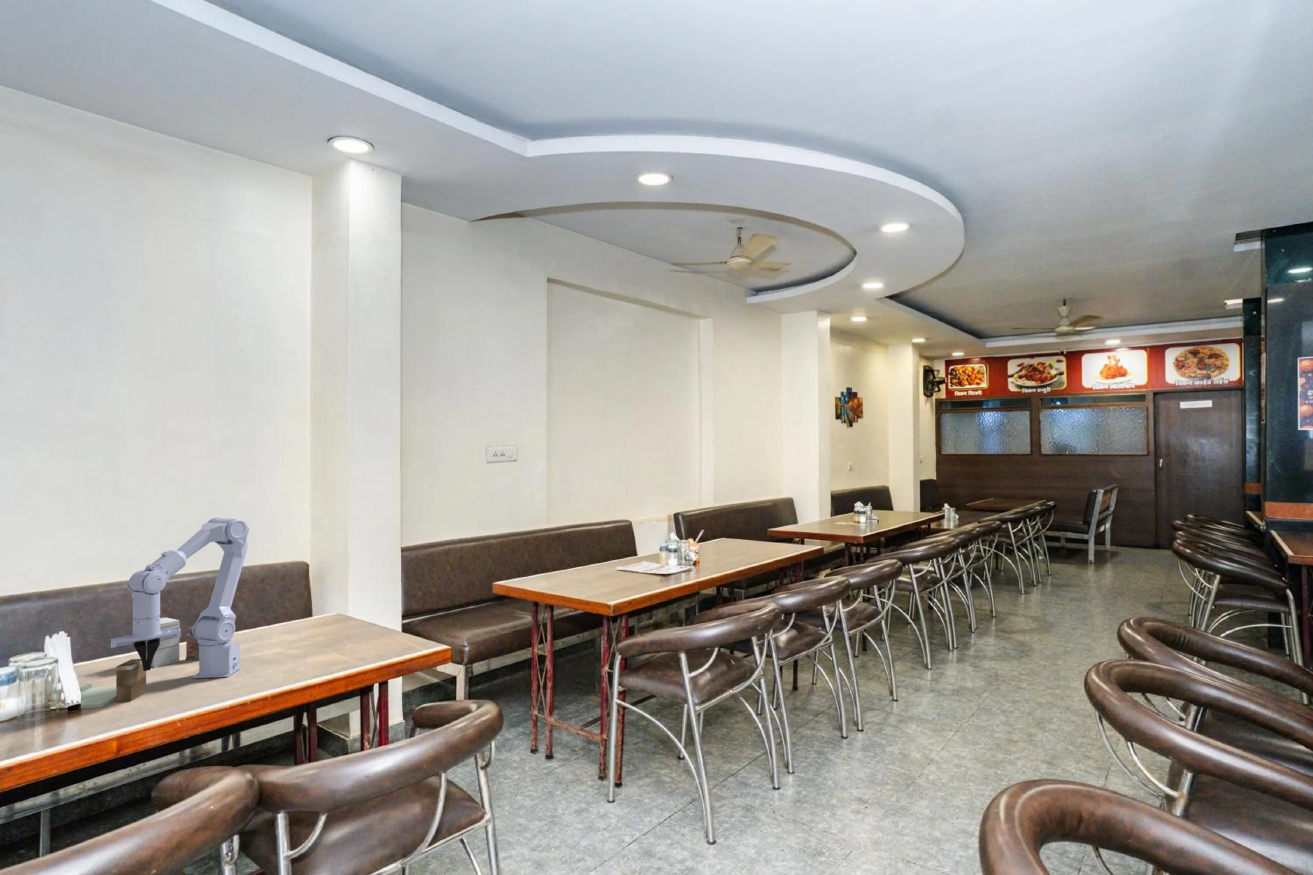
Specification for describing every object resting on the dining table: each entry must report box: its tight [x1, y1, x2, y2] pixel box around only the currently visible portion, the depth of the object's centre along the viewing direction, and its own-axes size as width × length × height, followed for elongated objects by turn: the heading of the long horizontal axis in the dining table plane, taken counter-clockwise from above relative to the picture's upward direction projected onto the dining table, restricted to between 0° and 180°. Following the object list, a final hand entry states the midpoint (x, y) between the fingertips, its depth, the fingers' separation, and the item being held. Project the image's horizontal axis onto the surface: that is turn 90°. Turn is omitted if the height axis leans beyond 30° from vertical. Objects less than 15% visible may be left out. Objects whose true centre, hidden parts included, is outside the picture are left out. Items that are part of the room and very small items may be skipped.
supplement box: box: [146, 617, 180, 668], centre depth 207 cm, size 7×7×13 cm
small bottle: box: [185, 626, 199, 662], centre depth 211 cm, size 8×3×10 cm, turn 105°
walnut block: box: [115, 658, 147, 703], centre depth 178 cm, size 4×6×9 cm, turn 5°
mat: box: [79, 683, 116, 709], centre depth 177 cm, size 12×13×2 cm
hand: (146, 669), depth 179 cm, fingers closed
